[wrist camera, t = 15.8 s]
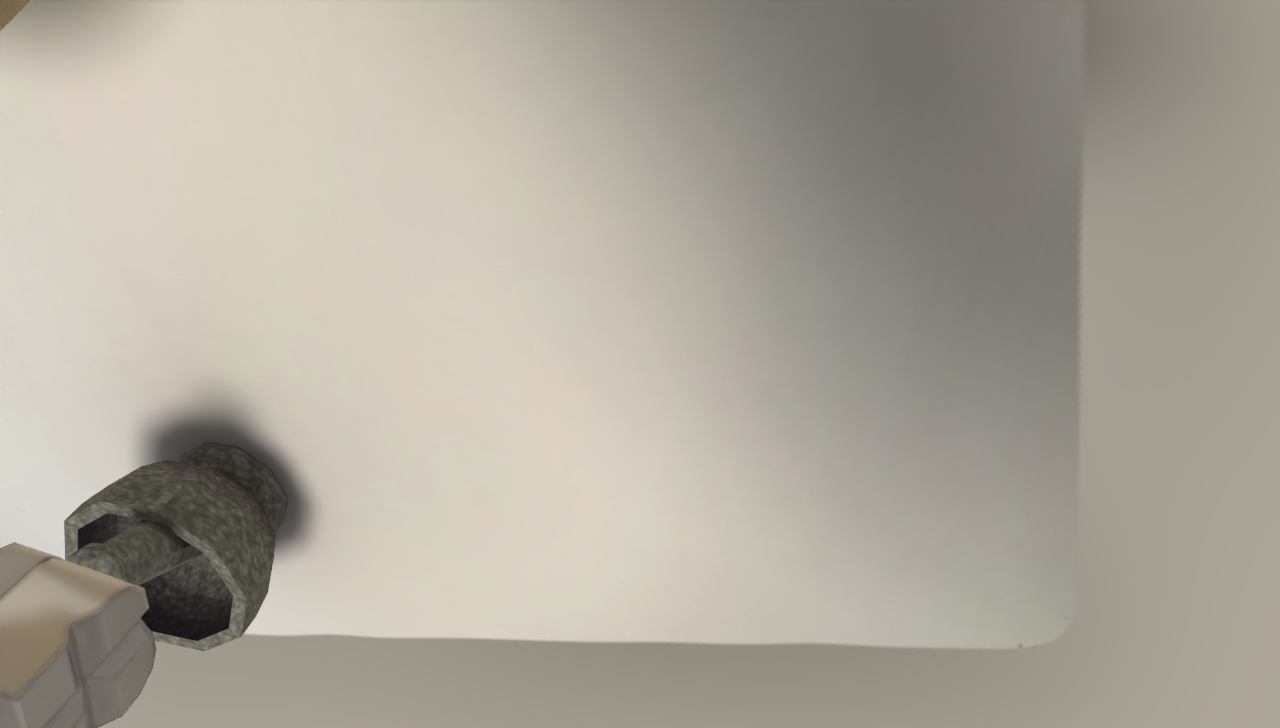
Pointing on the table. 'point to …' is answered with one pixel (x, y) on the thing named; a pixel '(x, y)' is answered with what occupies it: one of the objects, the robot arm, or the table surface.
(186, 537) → the mortar and pestle
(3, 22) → the plant pot
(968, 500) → the table surface
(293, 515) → the table surface
